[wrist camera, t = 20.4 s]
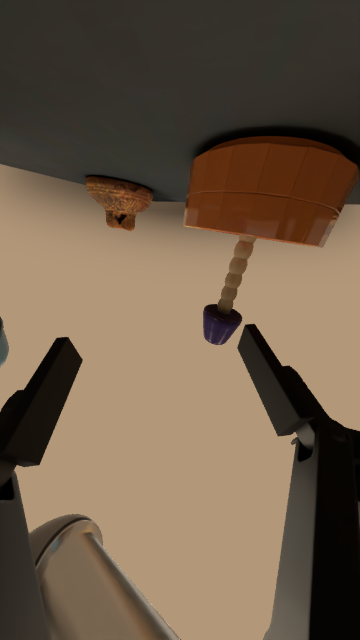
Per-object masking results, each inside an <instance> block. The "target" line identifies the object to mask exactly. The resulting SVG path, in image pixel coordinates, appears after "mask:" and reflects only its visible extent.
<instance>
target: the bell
mask: <svg viewBox="0 0 360 640" xmlns="http://www.w3.org/2000/svg"><path fill="white" fill-rule="evenodd" d="M85 184H86V187H87V190H88V192H89V194H90V195H91V196H92V197H93V198H94V199H95V200H96V201H97V202H99V203H100V204H101V205H102V206H103V207H104V208H105V211H106V222H107V225H108V226H109V227H112V228H121V229H126V230H129V231H132V230H133V229H134V227H135V216H136V214H137V213H140V212H142V211H144V210H146V209H147V208H148V207H149V205H150V204H151V201H152V198H153V193H152V192H151V191H150V190H149V189H147V188H145V187H143V186H140V185H137V184H133V183H130V182H126V181H122V180H117V179H111V178H104V177H96V176H92V177H87V178H86V180H85Z"/></svg>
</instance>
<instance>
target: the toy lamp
mask: <svg viewBox="0 0 360 640" xmlns="http://www.w3.org/2000/svg"><path fill="white" fill-rule="evenodd" d="M256 239H257V237H255V236H248V235H242V234H240V235H239V242H238V243H237V245H236V247H235V250H234V258H233V259H232V260H231V262H230V266H229V273H228V274H227V276H226V279H225V286H224V288H223V289H222V292H221V299H220V300H219V302H218V305H217V304H211V305H207V306H206V307H205V308H204V311H203V328H204V337H205V339H206V340H207V341H208V342H210V343H212V344H215V345H222V344H224V343H225V342H226V341H227V340H228V339H229V338H230V337H231V335H232V334H233V333H234V331H235V330H236V329H237V327H238V326H239V325H240V323H241V321H242V316H241V315H240V314H239V313H238V312H237V311H236V310H234V309H232V307H233V300H234V299H235V298H236V295H237V288H238V287H239V285H240V284H241V281H242V274H243V273H244V271H245V270H246V267H247V259H248V258H249V257H250V256H251V253H252V251H253V243H254V242H255V240H256Z"/></svg>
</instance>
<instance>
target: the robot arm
mask: <svg viewBox="0 0 360 640" xmlns="http://www.w3.org/2000/svg"><path fill="white" fill-rule="evenodd" d="M237 348H238V350H239V353H240V355H241V357H242V359H243V361H244V363H245V365H246V368H247V370H248V372H249V374H250V376H251V379H252V381H253V383H254V385H255V387H256V389H257V392H258V394H259V396H260V398H261V400H262V403H263V405H264V407H265V409H266V411H267V414H268V416H269V418H270V420H271V422H272V424H273V427H274V429H275V431H276V433H277V435H278V436H286V435H291V434H293V433H294V432H296V434H297V436H298V437H296V438H295V439H293V440H292V442H291V444H292V445H293V444H295V443H296V447H295V455H294V462H293V469H292V476H291V483H290V491H289V498H288V505H287V512H286V520H285V526H284V534H283V541H282V548H281V556H280V563H279V570H278V577H277V584H276V591H275V599H274V606H273V614H272V619H271V624H270V627H269V629H268V631H267V632H266V633H265V636H264V639H263V640H360V431H357V430H353V429H349V428H346V427H344V426H343V425H341V424H340V423H338V422H337V421H334V420H332V419H331V418H330V417H329V416H328V415H327V413H326V412H325V411H324V409H323V408H322V406H321V405H320V404H319V402H318V401H317V399H316V398H315V397H314V395H313V394H312V393H311V391H310V390H309V389H308V387H307V385H306V384H305V382H303V380H302V378H301V377H300V375H299V374H298V373H297V372H296V371H295V370H294V369H293V368H292V367H290V366H282V365H281V363H280V362H279V360H278V359H277V357H276V356H275V354H274V353H273V351H272V350H271V348H270V347H269V345H268V344H267V342H266V341H265V339H264V337H263V336H262V334H261V333H260V331H259V330H258V329H257V327H256V325H255V324H248V325H245V327H244V330H243V333H242V336H241V339H240V341H239V345H238V347H237ZM8 351H9V346H8V342H7V339H6V336H5V333H4V330H3V321H2V319H1V317H0V367H1V366H2V365H3V364H4V362H5V360H6V358H7V355H8ZM81 363H82V358H81V357H80V355H79V353H78V352H77V350H76V349H75V347H74V346H73V344H72V343H71V341H70V339H69V338H68V337H61V338H56V340H55V342H54V343H53V345H52V346H51V348H50V349H49V351H48V353H47V354H46V356H45V357H44V359H43V361H42V362H41V364H40V365H39V367H38V369H37V370H36V372H35V373H34V375H33V376H32V378H31V379H30V381H29V383H28V384H27V386H26V388H25V389H24V390H17V391H16V392H15V394H13V395H12V396H11V397H10V398H9V399H8V400H7V402H6V403H5V405H4V406H3V408H2V409H1V412H0V640H181V639H180V638H179V637H178V636H177V635H176V633H175V632H174V631H173V630H172V628H171V627H170V626H169V625H168V624H167V623H166V621H165V620H164V619H163V618H162V617H161V616H160V614H159V613H158V612H157V611H156V609H155V608H154V607H153V606H152V605H151V604H150V602H149V601H148V600H147V599H146V598H145V596H144V595H143V594H142V593H141V592H140V590H139V589H138V588H137V587H136V586H135V584H134V583H133V582H132V581H131V580H130V579H129V577H128V576H127V575H126V574H125V573H124V571H123V570H122V569H121V568H120V567H119V565H118V564H117V563H116V562H115V561H114V560H113V559H112V557H111V556H110V555H109V553H108V552H107V551H106V550H105V549H104V548H103V540H102V534H101V531H100V529H99V527H98V526H97V525H96V524H95V523H94V522H93V521H92V520H91V519H90V518H88V517H87V516H84V515H79V514H72V515H65V516H61V517H58V518H56V519H53V520H51V521H48V522H46V523H45V524H43V525H42V526H40V527H38V528H36V529H35V530H33V531H32V532H30V533H28V528H27V523H26V519H25V514H24V509H23V504H22V500H21V494H20V490H19V485H18V480H17V476H16V473H15V471H14V469H15V467H16V465H19V466H22V467H28V466H36V465H40V462H41V460H42V457H43V455H44V452H45V450H46V448H47V445H48V443H49V440H50V438H51V436H52V433H53V430H54V428H55V426H56V423H57V421H58V419H59V416H60V414H61V411H62V409H63V407H64V404H65V402H66V399H67V397H68V395H69V392H70V389H71V387H72V385H73V382H74V380H75V378H76V375H77V373H78V370H79V368H80V365H81Z"/></svg>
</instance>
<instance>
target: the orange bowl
mask: <svg viewBox="0 0 360 640" xmlns="http://www.w3.org/2000/svg"><path fill="white" fill-rule="evenodd" d="M358 178H359V171H358V166H357V165H356V164H355V163H353V162H352V161H350V160H348V159H347V158H346V157H345V155H344V154H343V153H342V152H340V151H339V150H337V149H336V148H334V147H332V146H329V145H327V144H324V143H321V142H318V141H314V140H309V139H304V138H297V137H289V136H255V137H246V138H239V139H235V140H230V141H227V142H224V143H221V144H218V145H216V146H214V147H213V148H211V149H209V150H208V151H207V152H205V153H203V154H201V155H199V156H197V157H196V158H195V159H194V161H193V163H192V165H191V168H190V176H189V184H188V191H187V199H186V207H185V214H184V223H183V226H187V227H193V228H198V229H205V230H210V231H216V232H223V233H229V234H236V235H240V234H242V235H248V236H255V237H257V238H260V239H267V240H273V241H280V242H286V243H293V244H299V245H307V246H313V247H321V248H322V247H323V246H324V244H325V242H326V240H327V238H328V236H329V234H330V232H331V230H332V228H333V227H334V225H335V222H336V221H337V219H338V217H339V214H340V213H341V211H342V209H343V207H344V205H345V203H346V201H347V199H348V197H349V195H350V193H351V191H352V189H353V188H354V186H355V184H356V182H357V180H358Z"/></svg>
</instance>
